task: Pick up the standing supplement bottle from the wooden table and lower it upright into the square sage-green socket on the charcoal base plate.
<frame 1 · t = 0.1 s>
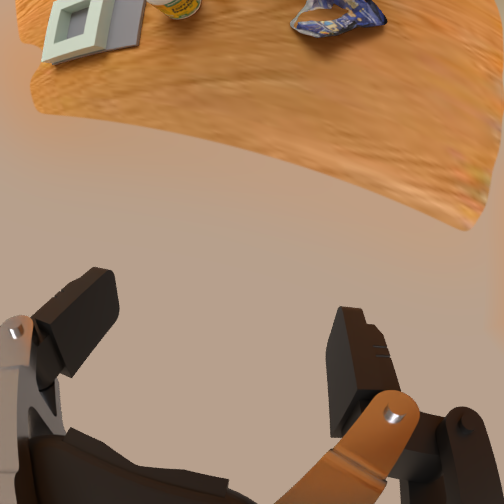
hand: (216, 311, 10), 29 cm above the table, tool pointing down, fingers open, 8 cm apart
supplement bottle: (183, 5, 28), on the table
socket board: (97, 21, 29), on the table
snack package: (336, 12, 27), on the table
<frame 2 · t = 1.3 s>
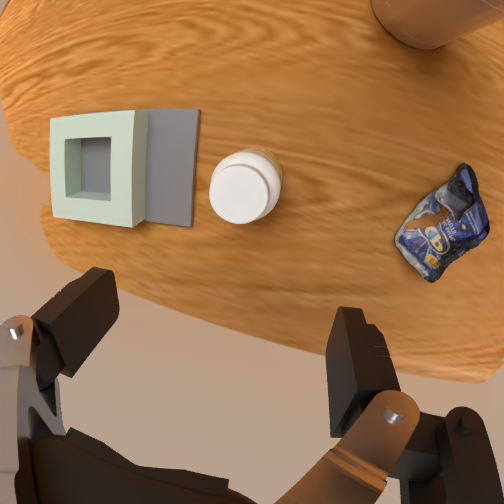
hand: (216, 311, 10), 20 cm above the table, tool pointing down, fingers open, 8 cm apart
supplement bottle: (255, 174, 28), on the table
socket board: (123, 163, 29), on the table
snack package: (441, 212, 27), on the table
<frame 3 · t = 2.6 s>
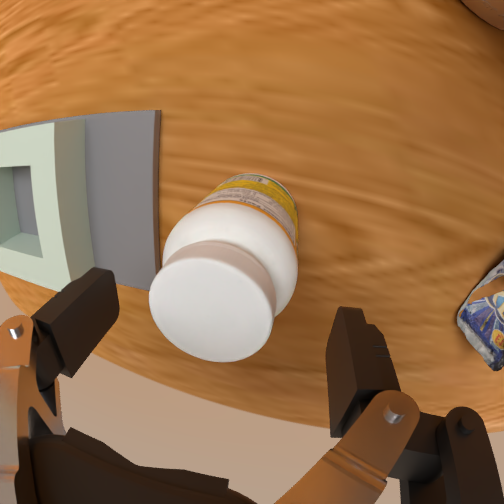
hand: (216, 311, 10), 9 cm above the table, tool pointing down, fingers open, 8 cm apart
supplement bottle: (252, 216, 17), on the table
socket board: (62, 197, 19), on the table
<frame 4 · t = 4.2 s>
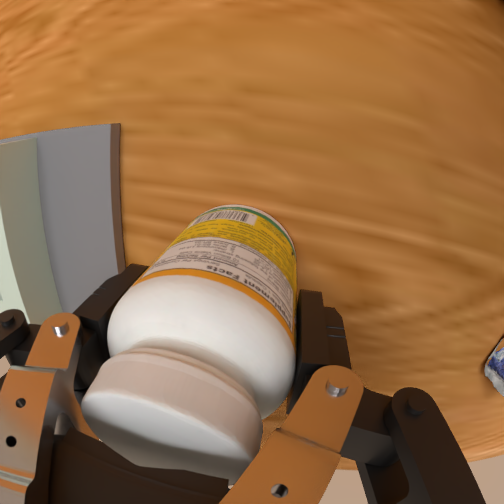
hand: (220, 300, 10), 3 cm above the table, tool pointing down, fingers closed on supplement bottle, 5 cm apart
supplement bottle: (238, 257, 14), on the table, touching gripper
socket board: (23, 227, 15), on the table
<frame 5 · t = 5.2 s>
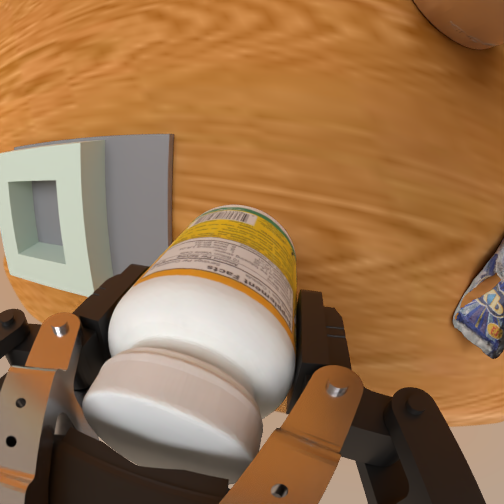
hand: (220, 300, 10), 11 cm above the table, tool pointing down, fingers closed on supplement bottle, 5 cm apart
supplement bottle: (238, 257, 14), point 7 cm above the table, touching gripper
socket board: (82, 209, 21), on the table
snack package: (498, 269, 19), on the table
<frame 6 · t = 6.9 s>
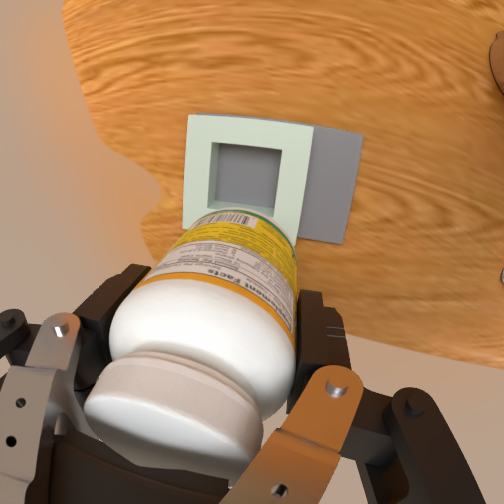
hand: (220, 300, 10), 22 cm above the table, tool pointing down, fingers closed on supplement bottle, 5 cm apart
supplement bottle: (239, 259, 14), point 18 cm above the table, touching gripper
socket board: (272, 176, 30), on the table
when the fingers open (6 cm above the table, at t = 9.8 s): supplement bottle drops 1 cm, resting on socket board.
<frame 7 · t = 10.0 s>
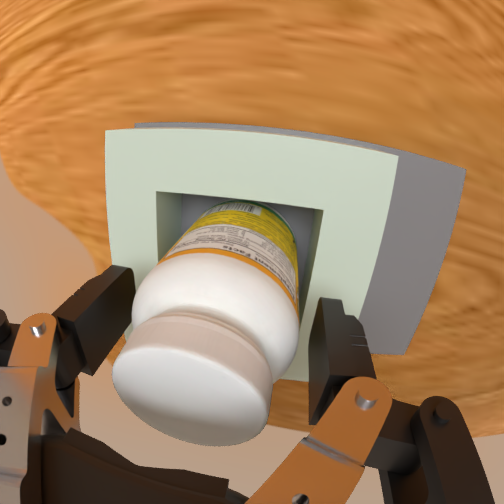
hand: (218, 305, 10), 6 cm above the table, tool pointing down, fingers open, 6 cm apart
supplement bottle: (243, 247, 15), point 1 cm above the table, touching socket board
socket board: (292, 248, 15), on the table
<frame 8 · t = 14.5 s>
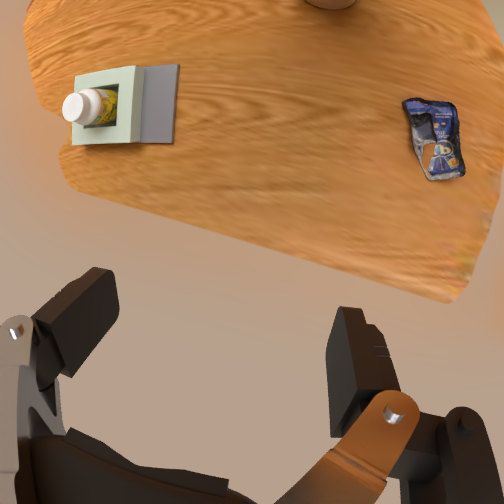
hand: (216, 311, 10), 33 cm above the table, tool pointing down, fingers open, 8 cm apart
supplement bottle: (111, 106, 38), point 1 cm above the table, touching socket board
socket board: (126, 105, 38), on the table
snack package: (427, 134, 35), on the table
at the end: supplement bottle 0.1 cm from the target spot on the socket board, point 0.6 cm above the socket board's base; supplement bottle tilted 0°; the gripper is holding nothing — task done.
